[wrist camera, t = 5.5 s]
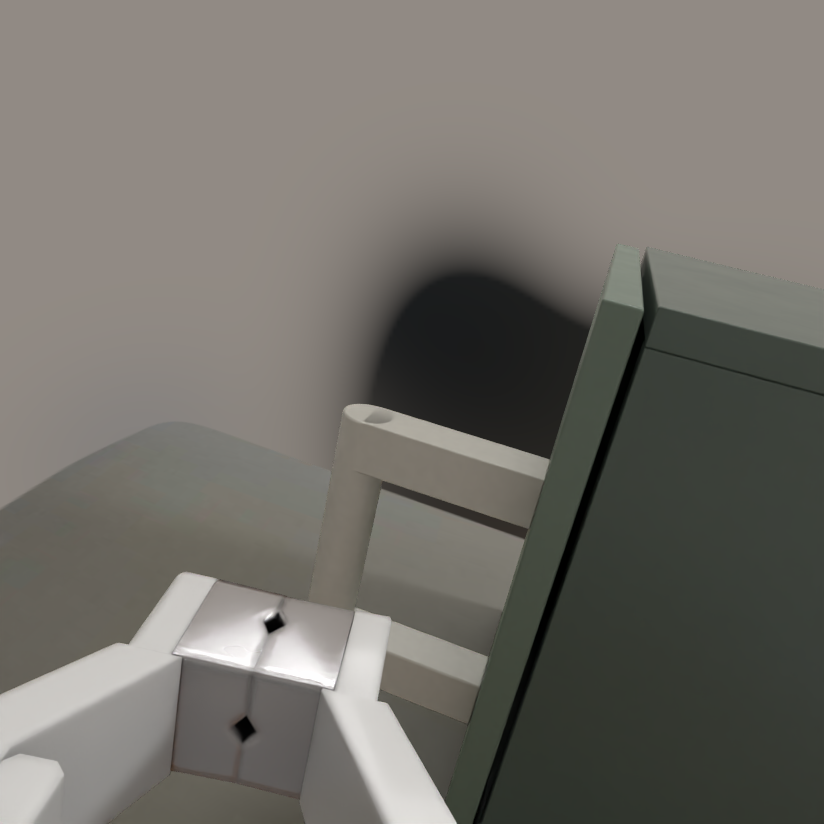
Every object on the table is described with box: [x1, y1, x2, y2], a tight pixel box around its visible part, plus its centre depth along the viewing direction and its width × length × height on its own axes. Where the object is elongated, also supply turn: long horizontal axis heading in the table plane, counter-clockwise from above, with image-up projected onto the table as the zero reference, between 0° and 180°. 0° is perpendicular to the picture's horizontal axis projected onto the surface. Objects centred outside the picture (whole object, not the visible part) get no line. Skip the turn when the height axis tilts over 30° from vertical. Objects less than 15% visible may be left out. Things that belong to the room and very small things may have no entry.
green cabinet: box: [475, 247, 824, 824], centre depth 26 cm, size 13×16×20 cm
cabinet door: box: [308, 244, 644, 824], centre depth 28 cm, size 7×16×20 cm, turn 163°
